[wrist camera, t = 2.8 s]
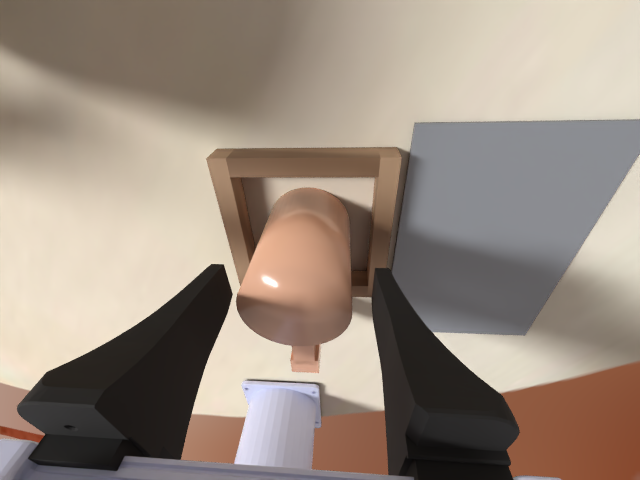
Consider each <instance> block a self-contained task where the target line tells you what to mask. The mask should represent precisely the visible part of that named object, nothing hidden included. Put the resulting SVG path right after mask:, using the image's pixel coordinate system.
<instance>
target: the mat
mask: <svg viewBox="0 0 640 480" xmlns="http://www.w3.org/2000/svg"><path fill="white" fill-rule="evenodd" d="M639 154H640V120H574V121H503V122H433V123H415V124H414V130H413V137H412V143H411V150H410V156H409V162H408V169H407V175H406V182H405V188H404V194H403V201H402V207H401V214H400V220H399V227H398V233H397V239H396V246H395V252H394V259H393V265H392V274H393V276H394V278H395V280H396V282H397V284H398V285H399V287H400V289H401V291H402V292H403V294H404V295H405V297H406V298H407V300H408V301H409V303H410V304H411V306H412V307H413V309H414V310H415V311H416V313H417V314H418V315H419V317H420V318H421V319H422V321H423V322H424V323H425V324H426V326H427V327H428V328H429V329H430V330H431V332H446V333H473V334H500V335H525V334H526V333H527V331H528V330H529V328H530V326H531V325H532V323H533V322H534V320H535V318H536V317H537V315H538V314H539V312H540V311H541V309H542V307H543V306H544V304H545V303H546V301H547V299H548V298H549V296H550V295H551V293H552V292H553V290H554V288H555V287H556V285H557V284H558V282H559V280H560V279H561V277H562V276H563V274H564V272H565V271H566V269H567V268H568V266H569V265H570V263H571V261H572V260H573V258H574V257H575V255H576V253H577V252H578V250H579V249H580V247H581V246H582V244H583V242H584V241H585V239H586V238H587V236H588V234H589V233H590V231H591V230H592V228H593V227H594V225H595V223H596V222H597V220H598V219H599V217H600V215H601V214H602V212H603V211H604V209H605V207H606V206H607V204H608V203H609V201H610V200H611V198H612V196H613V195H614V193H615V192H616V190H617V188H618V187H619V185H620V184H621V182H622V181H623V179H624V177H625V176H626V174H627V173H628V171H629V169H630V168H631V166H632V165H633V163H634V161H635V160H636V158H637V157H638V155H639Z"/></svg>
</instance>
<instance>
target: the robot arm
mask: <svg viewBox="0 0 640 480" xmlns="http://www.w3.org/2000/svg"><path fill="white" fill-rule="evenodd" d="M232 295H233V294H232V291H231V287H230V284H229V281H228V277H227V274H226V271H225V267H224V264H211V265H210V266H209V267H207V268H206V269H205V270H204V271H203V272H202V273H201V274H200V275H199V276H197V277H196V278H195V279H194V280H193V281H192V282H191V283H190V284H188V285H187V286H186V287H185V288H184V289H183V290H182V291H180V292H179V293H178V294H177V295H176V296H174V297H173V298H172V299H171V300H169V301H168V302H167V303H166V304H164V305H163V306H162V307H161V308H160V309H158V310H157V311H156V312H154V313H153V314H151V315H150V316H149V317H147V318H146V319H144V320H143V321H141V322H140V323H138V324H137V325H135V326H134V327H132V328H131V329H129V330H127V331H126V332H124V333H122V334H121V335H119V336H117V337H116V338H114V339H113V340H111V341H109V342H107V343H105V344H104V345H102V346H100V347H98V348H96V349H94V350H92V351H90V352H89V353H87V354H85V355H83V356H81V357H79V358H76V359H74V360H72V361H70V362H68V363H66V364H64V365H61V366H59V367H57V368H55V369H53V370H50V371H48V372H46V374H45V375H44V376H43V377H42V378H41V379H40V380H39V382H38V383H37V384H36V385H35V386H34V387H33V388H32V390H31V391H30V392H29V393H28V394H27V395H26V396H25V398H24V399H23V400H22V401H21V402H20V403H19V405H18V407H17V411H18V413H19V415H20V416H21V417H22V418H23V419H25V420H26V421H27V422H29V423H30V424H32V425H33V426H35V427H36V428H37V429H39V430H40V431H42V432H43V433H45V436H44V437H43V438H42V440H41V441H40V442H39V443H37V442H34V441H29V440H18V439H4V438H3V439H0V480H561V479H559V478H554V477H539V476H516V477H513V478H512V475H511V472H510V470H509V467H508V466H510V465H511V462H510V458H509V456H508V453H507V451H506V450H507V448H508V447H509V446H510V445H511V444H512V443H513V442H514V441H515V440H516V438H517V437H518V435H519V433H520V432H519V427H518V425H517V422H516V420H515V418H514V416H513V414H512V412H511V410H510V408H509V407H508V405H507V403H506V402H505V399H504V398H503V396H502V395H501V394H499V393H498V392H497V391H496V390H494V389H493V388H492V387H490V386H489V385H488V384H487V383H485V382H484V381H483V380H481V379H480V378H479V377H478V376H476V375H475V374H474V373H473V372H472V371H471V370H470V369H468V368H467V367H466V366H465V365H464V364H463V363H462V362H461V361H460V360H459V359H458V358H457V357H456V356H454V355H453V354H452V353H451V352H450V351H449V350H448V349H447V348H446V347H445V346H444V345H443V344H442V343H441V341H440V340H439V339H438V338H437V337H436V336H435V335H434V334H433V333H432V332H431V330H430V329H429V328H428V327H427V326H426V324H425V323H424V322H423V321H422V319H421V318H420V317H419V315H418V314H417V313H416V311H415V310H414V309H413V307H412V306H411V304H410V303H409V301H408V300H407V298H406V297H405V295H404V294H403V292H402V291H401V289H400V287H399V285H398V284H397V282H396V280H395V278H394V276H393V274H392V272H391V270H390V269H389V268H375V272H374V281H373V290H372V314H373V323H374V328H375V334H376V340H377V346H378V351H379V357H380V363H381V370H382V380H383V393H384V406H385V420H386V437H387V453H388V472H389V473H388V474H389V475H379V474H365V473H352V472H338V471H325V470H312V457H313V442H314V429H315V428H320V427H321V409H320V393H319V386H318V385H316V384H304V383H284V382H264V381H243V382H242V389H243V391H244V394H245V397H246V399H247V402H248V405H249V408H248V412H247V415H246V420H245V424H244V427H243V431H242V435H241V439H240V443H239V447H238V451H237V455H236V459H235V463H234V464H229V463H216V462H202V461H187V460H181V455H182V451H183V447H184V442H185V437H186V434H187V429H188V425H189V421H190V418H191V414H192V410H193V406H194V402H195V399H196V395H197V392H198V388H199V385H200V382H201V379H202V375H203V372H204V369H205V366H206V363H207V360H208V358H209V355H210V353H211V351H212V348H213V346H214V344H215V341H216V339H217V337H218V334H219V332H220V330H221V327H222V325H223V323H224V320H225V318H226V315H227V313H228V309H229V306H230V302H231V298H232Z"/></svg>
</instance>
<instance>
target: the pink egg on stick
mask: <svg viewBox="0 0 640 480" xmlns="http://www.w3.org/2000/svg"><path fill="white" fill-rule="evenodd" d="M236 305H237V310H238V313H239V315H240V317H241V318H242V320H243V321H244V323H245V324H246V325H247V326H248V327H249V328H250V329H252V330H253V331H254V332H256V333H257V334H259V335H260V336H262V337H264V338H266V339H269V340H271V341H274V342H277V343H281V344H285V345H291V346H292V354H291V360H290V361H291V367H292V372H311V373H319V366H320V353H321V344H322V343H326V342H328V341H331V340H333V339H335V338H336V337H338V336H339V335H341V334H342V333H343V332H344V331H345V330H346V329H347V327H348V326H349V324H350V322H351V319H352V287H351V254H350V222H349V216H348V213H347V210H346V208H345V207H344V205H343V204H342V203H341V202H340V201H339V200H338V199H337V198H336V197H335V196H333V195H332V194H330V193H328V192H326V191H324V190H320V189H316V188H299V189H295V190H291V191H289V192H287V193H286V194H284V195H282V196H281V197H280V198H279V199H278V200H277V201H276V203H275V204H274V206H273V208H272V211H271V213H270V216H269V218H268V220H267V223H266V225H265V228H264V230H263V233H262V235H261V238H260V240H259V243H258V245H257V247H256V250H255V252H254V255H253V257H252V260H251V262H250V265H249V267H248V270H247V272H246V274H245V277H244V279H243V282H242V284H241V287H240V289H239V292H238V294H237V299H236Z"/></svg>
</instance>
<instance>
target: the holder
mask: <svg viewBox="0 0 640 480" xmlns="http://www.w3.org/2000/svg"><path fill="white" fill-rule="evenodd" d="M206 160H207V163H208V167H209V171H210V175H211V178H212V182H213V186H214V189H215V193H216V197H217V201H218V204H219V208H220V212H221V216H222V219H223V223H224V227H225V230H226V234H227V238H228V242H229V245H230V249H231V253H232V257H233V260H234V264H235V268H236V271H237V275H238V279H239V283H240V286H241V284H242V282H243V279H244V277H245V274H246V272H247V270H248V267H249V265H250V262H251V260H252V257H253V255H254V252H255V250H256V249H255V244H254V239H253V235H252V230H251V225H250V220H249V215H248V210H247V205H246V200H245V195H244V190H243V186H242V181H241V177H375V182H374V193H373V205H372V216H371V228H370V239H369V250H368V262H367V271H351V287H352V297H372V290H373V281H374V272H375V268H386V267H387V260H388V253H389V246H390V238H391V231H392V224H393V217H394V210H395V203H396V196H397V189H398V181H399V174H400V167H401V160H402V157H401V155H400V152H399V150H398V148H397V147H373V148H252V149H216V150H215V151H214V152H213V153H212V154H211V155H210V156H209V157H207V158H206Z"/></svg>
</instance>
